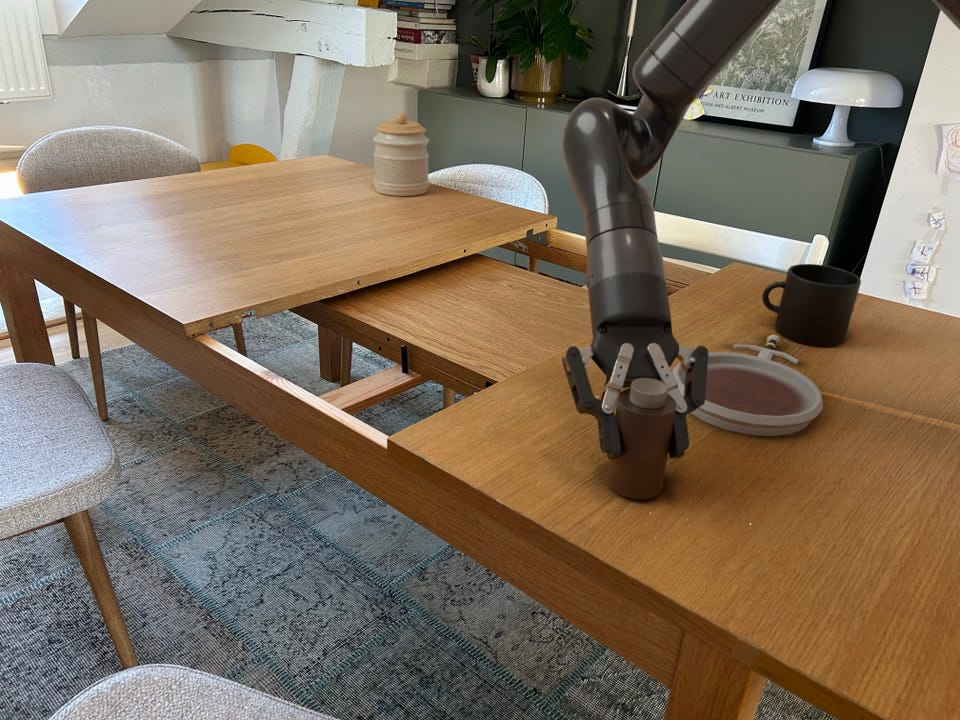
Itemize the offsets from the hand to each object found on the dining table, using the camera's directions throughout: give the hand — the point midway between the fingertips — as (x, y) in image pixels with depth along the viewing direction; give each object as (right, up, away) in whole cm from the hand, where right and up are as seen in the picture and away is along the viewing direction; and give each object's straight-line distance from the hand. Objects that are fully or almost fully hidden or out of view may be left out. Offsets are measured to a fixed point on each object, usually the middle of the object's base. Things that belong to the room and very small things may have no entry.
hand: (646, 456), depth 66 cm
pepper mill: (0, -3, +3) cm, 5 cm away
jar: (-34, +49, +108) cm, 123 cm away
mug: (+31, +13, +40) cm, 52 cm away
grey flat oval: (+19, +6, +24) cm, 31 cm away
